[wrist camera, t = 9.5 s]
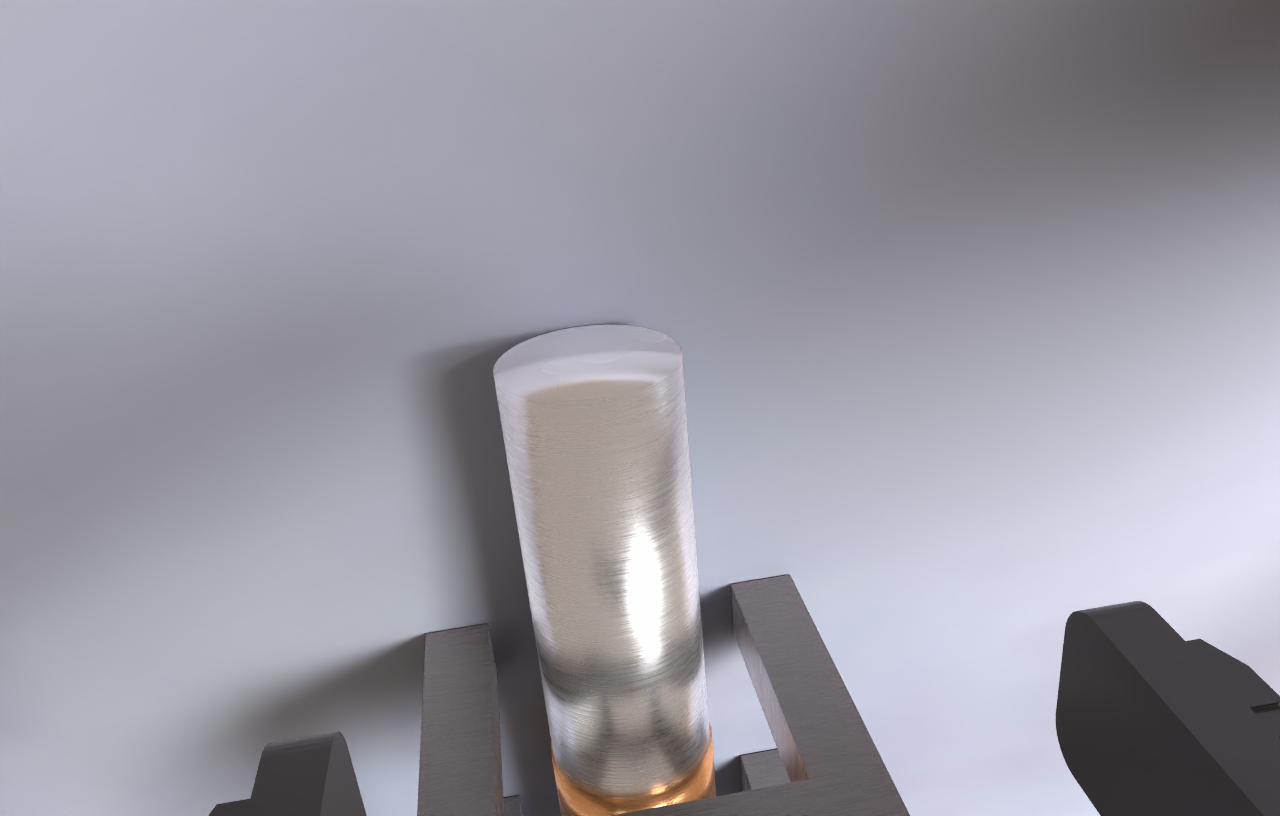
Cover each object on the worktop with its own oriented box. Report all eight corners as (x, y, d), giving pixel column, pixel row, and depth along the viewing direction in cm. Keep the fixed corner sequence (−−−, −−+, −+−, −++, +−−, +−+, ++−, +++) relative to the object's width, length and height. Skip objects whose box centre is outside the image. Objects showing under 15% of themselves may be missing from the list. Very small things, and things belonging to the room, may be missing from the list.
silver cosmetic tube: (506, 329, 24) (475, 407, 21) (683, 318, 24) (685, 394, 20) (581, 833, 31) (568, 958, 28) (720, 828, 31) (725, 954, 27)
